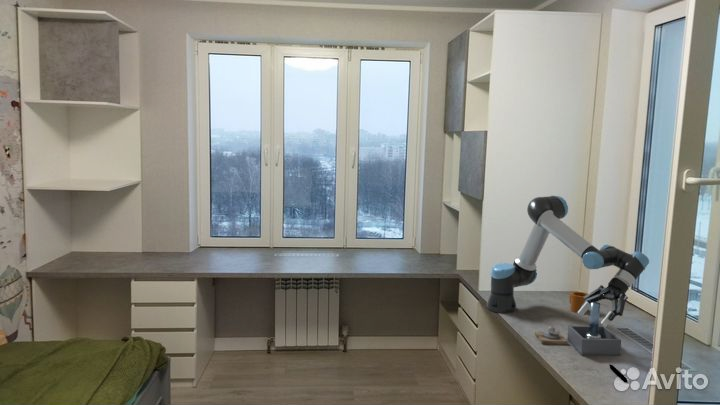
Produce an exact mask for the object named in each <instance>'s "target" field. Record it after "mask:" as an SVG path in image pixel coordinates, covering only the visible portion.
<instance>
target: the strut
mask: <svg viewBox="0 0 720 405" xmlns="http://www.w3.org/2000/svg"><path fill="white" fill-rule="evenodd" d="M600 312H601V303H600V302H599V301H597V302H591V306H590V312H589V313H590V314H589V326H590V327H589V332H588V333H586V338H585V339H601V335H600V334H598V331H599V326H600Z"/></svg>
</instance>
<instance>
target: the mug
mask: <svg viewBox="0 0 720 405" xmlns="http://www.w3.org/2000/svg"><path fill="white" fill-rule="evenodd" d="M588 294H589V293H587V292H583V291H572V292H571V293H570V295H569V304H570V311H571V312H573V313H576V314H578V313H577V312H578V311H579V310H580V309H581V306H582V305H583V304H584V302H585V300H584V297H585V296H586V295H588ZM587 299H588V298H587ZM588 313H589V309H588V310H587V311H586V312H585V314H588Z"/></svg>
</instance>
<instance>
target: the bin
mask: <svg viewBox="0 0 720 405" xmlns="http://www.w3.org/2000/svg"><path fill="white" fill-rule="evenodd" d="M589 327H590V325H568V326H567V337H566V340H567V341H568V343H569V344H570V345H571V346H572V347H573V349H574V350H576V352H577V353H578V354H579V355H580V356H584V357H585V356H587V357H589V356H590V357H591V356H593V357H621V351H622V339H621V338H620V337H618V336H617V335H616V334H615V333H614V332H612V330H610V328H608V327H607V326H606V327H604V326H603V325H599V331H598V334H600V335H601V339H585V338H586V333H588V332H589Z"/></svg>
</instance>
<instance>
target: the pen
mask: <svg viewBox="0 0 720 405" xmlns="http://www.w3.org/2000/svg"><path fill="white" fill-rule="evenodd" d="M609 368H610V370H611V372H613V373H614V374H615V375H616V377H618V378H619V379H620V380H621V381H622V383H625V384H626V383H628V378H627V377H626V376H625V375H624V374H623V373H622V372H621V371H620V370H619V369H617V367H615V365H613V364H611V363H609Z"/></svg>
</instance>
